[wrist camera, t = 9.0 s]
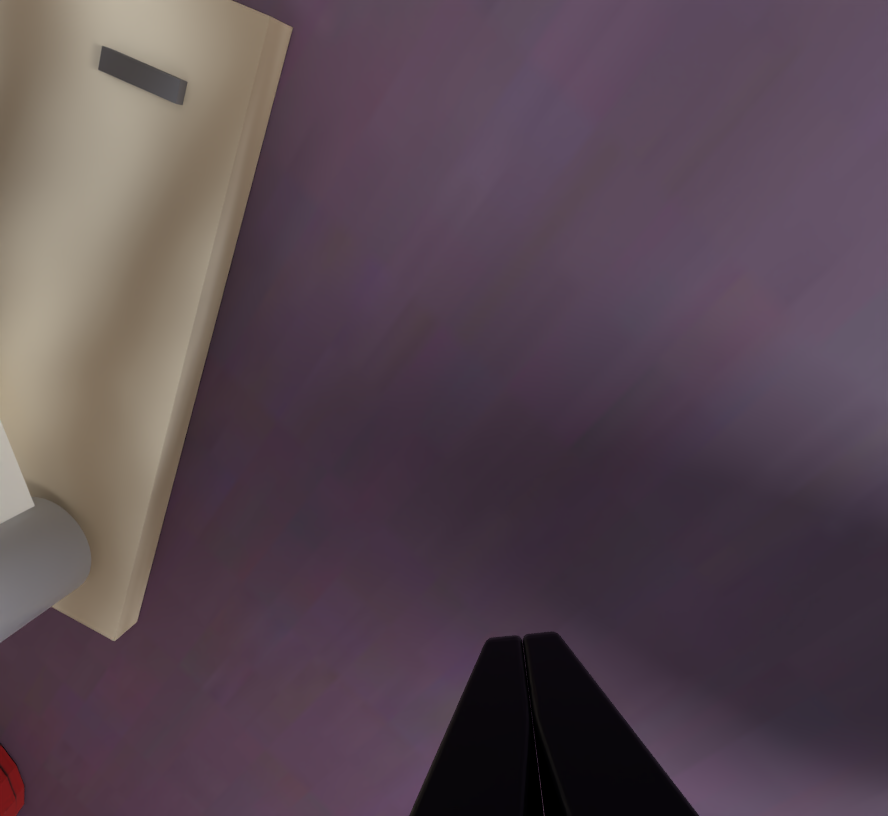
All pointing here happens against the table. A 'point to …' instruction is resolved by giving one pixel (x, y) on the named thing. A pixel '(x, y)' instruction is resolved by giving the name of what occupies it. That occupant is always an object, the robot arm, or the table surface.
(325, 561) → the table surface
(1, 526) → the white panel grey edge
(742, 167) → the table surface
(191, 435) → the table surface
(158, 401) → the board
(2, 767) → the plastic cup
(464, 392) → the table surface
